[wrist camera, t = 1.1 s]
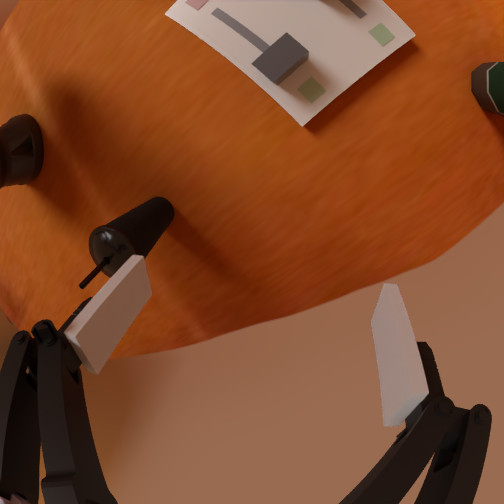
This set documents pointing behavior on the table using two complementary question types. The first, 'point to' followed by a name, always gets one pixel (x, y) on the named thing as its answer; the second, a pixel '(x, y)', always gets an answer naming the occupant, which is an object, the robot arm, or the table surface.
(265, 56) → the on lever
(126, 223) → the drinking cup
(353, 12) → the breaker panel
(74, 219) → the table surface
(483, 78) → the beer bottle
